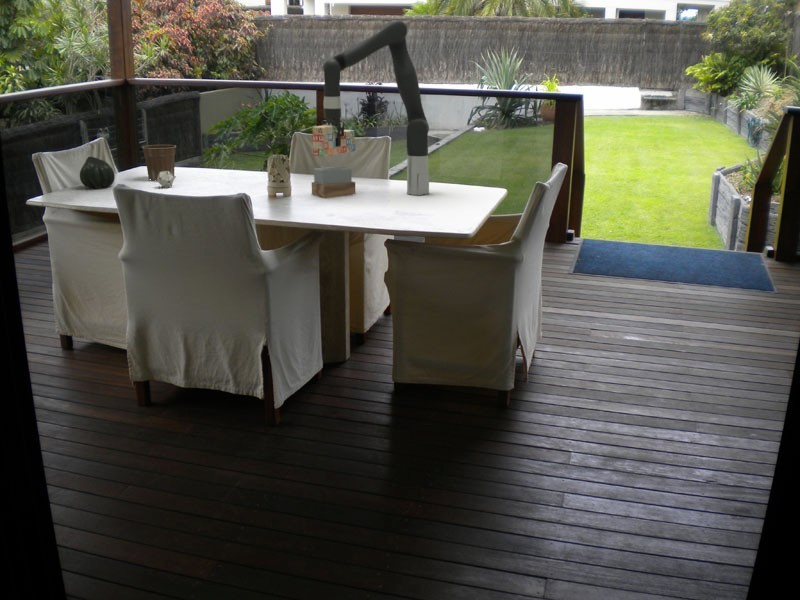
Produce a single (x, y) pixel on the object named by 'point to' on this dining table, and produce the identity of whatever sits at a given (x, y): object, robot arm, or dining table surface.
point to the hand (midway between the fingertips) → (333, 145)
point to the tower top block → (332, 175)
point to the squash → (96, 173)
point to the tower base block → (333, 189)
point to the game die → (165, 178)
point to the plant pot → (159, 159)
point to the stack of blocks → (331, 141)
